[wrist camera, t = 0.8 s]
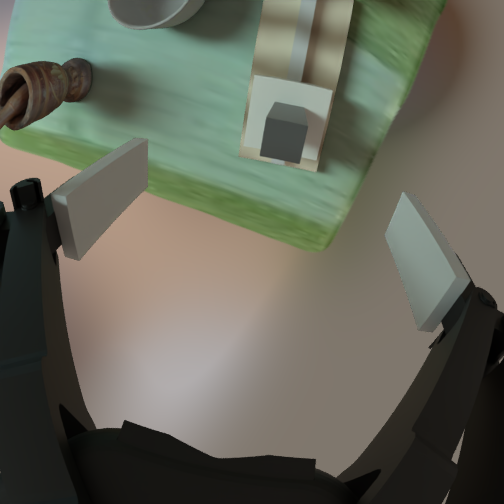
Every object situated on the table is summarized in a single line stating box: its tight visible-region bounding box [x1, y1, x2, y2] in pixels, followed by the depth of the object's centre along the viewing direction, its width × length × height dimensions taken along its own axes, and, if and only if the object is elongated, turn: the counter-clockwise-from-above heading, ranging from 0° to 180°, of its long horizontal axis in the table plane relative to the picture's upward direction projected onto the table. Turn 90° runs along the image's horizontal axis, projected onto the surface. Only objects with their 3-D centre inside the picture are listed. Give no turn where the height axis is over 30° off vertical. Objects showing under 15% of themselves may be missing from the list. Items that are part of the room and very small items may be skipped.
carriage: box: [243, 74, 333, 164], centre depth 26 cm, size 8×8×14 cm
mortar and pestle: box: [0, 58, 91, 130], centre depth 25 cm, size 12×9×20 cm
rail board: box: [239, 0, 354, 172], centre depth 29 cm, size 24×10×4 cm, turn 172°
